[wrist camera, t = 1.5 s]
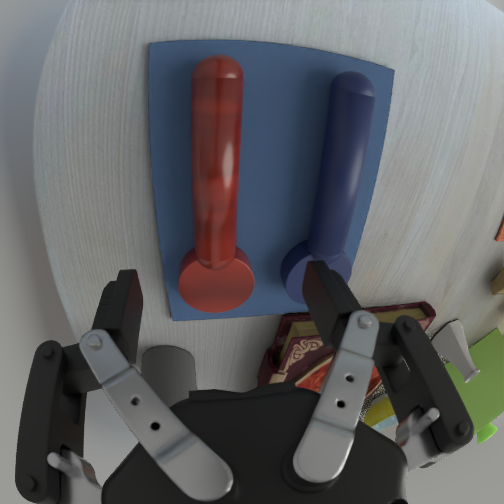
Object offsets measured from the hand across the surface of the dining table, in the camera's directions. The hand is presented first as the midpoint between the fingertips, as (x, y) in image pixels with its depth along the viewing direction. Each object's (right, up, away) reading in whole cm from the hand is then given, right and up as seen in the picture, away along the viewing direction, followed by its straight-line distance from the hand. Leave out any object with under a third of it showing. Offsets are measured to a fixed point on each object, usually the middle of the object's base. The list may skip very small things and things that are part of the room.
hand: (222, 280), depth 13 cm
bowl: (+28, -29, +36) cm, 54 cm away
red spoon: (-1, +4, +6) cm, 7 cm away
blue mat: (+3, +5, +7) cm, 9 cm away
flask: (+34, -13, +26) cm, 45 cm away
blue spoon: (+7, +5, +7) cm, 11 cm away
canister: (+54, -30, +42) cm, 74 cm away
